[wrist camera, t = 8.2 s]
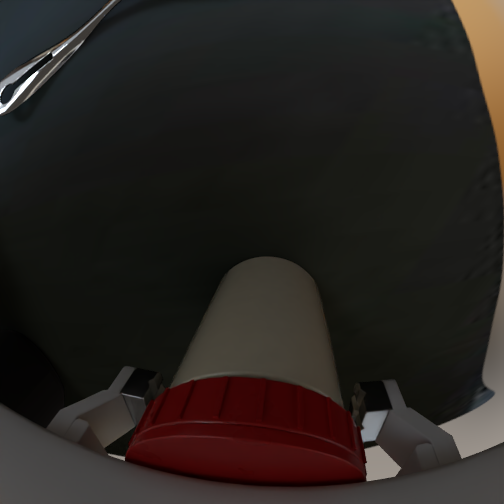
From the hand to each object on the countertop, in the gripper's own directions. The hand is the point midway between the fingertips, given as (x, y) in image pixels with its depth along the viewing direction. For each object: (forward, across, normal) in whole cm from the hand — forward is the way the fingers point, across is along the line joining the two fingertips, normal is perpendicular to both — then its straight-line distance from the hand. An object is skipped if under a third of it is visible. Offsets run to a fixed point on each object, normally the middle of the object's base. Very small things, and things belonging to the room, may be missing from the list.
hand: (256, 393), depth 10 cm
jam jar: (+7, 0, 0) cm, 7 cm away
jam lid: (-4, 0, 0) cm, 4 cm away
